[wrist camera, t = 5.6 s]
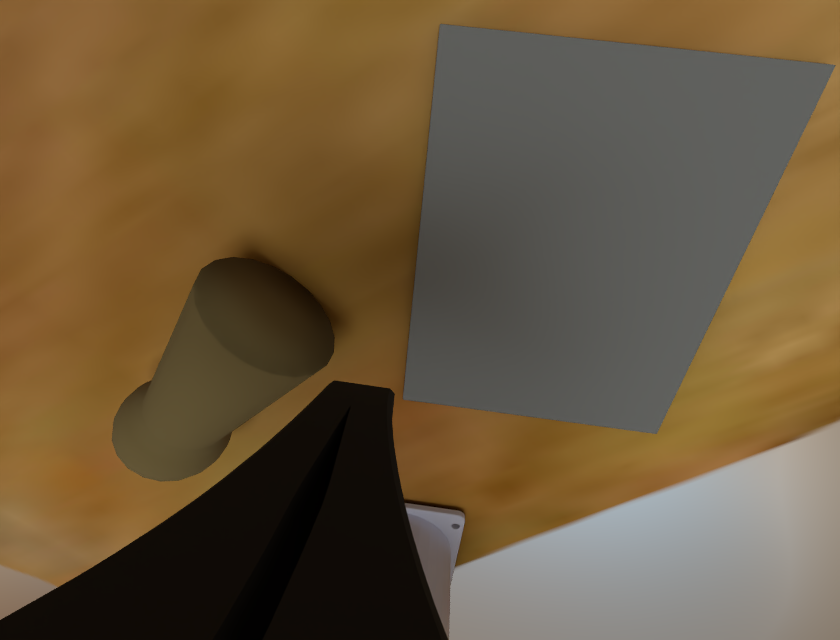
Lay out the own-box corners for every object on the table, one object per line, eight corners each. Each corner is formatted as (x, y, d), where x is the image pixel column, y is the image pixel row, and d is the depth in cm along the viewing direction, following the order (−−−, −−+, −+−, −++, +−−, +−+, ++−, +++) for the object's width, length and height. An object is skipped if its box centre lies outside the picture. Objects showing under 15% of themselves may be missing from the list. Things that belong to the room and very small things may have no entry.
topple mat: (653, 428, 21) (656, 433, 21) (403, 394, 22) (402, 399, 21) (826, 66, 14) (835, 65, 13) (440, 25, 14) (440, 23, 14)
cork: (231, 235, 18) (136, 373, 23) (159, 315, 13) (57, 470, 18) (344, 312, 20) (236, 423, 25) (319, 404, 15) (191, 520, 20)
